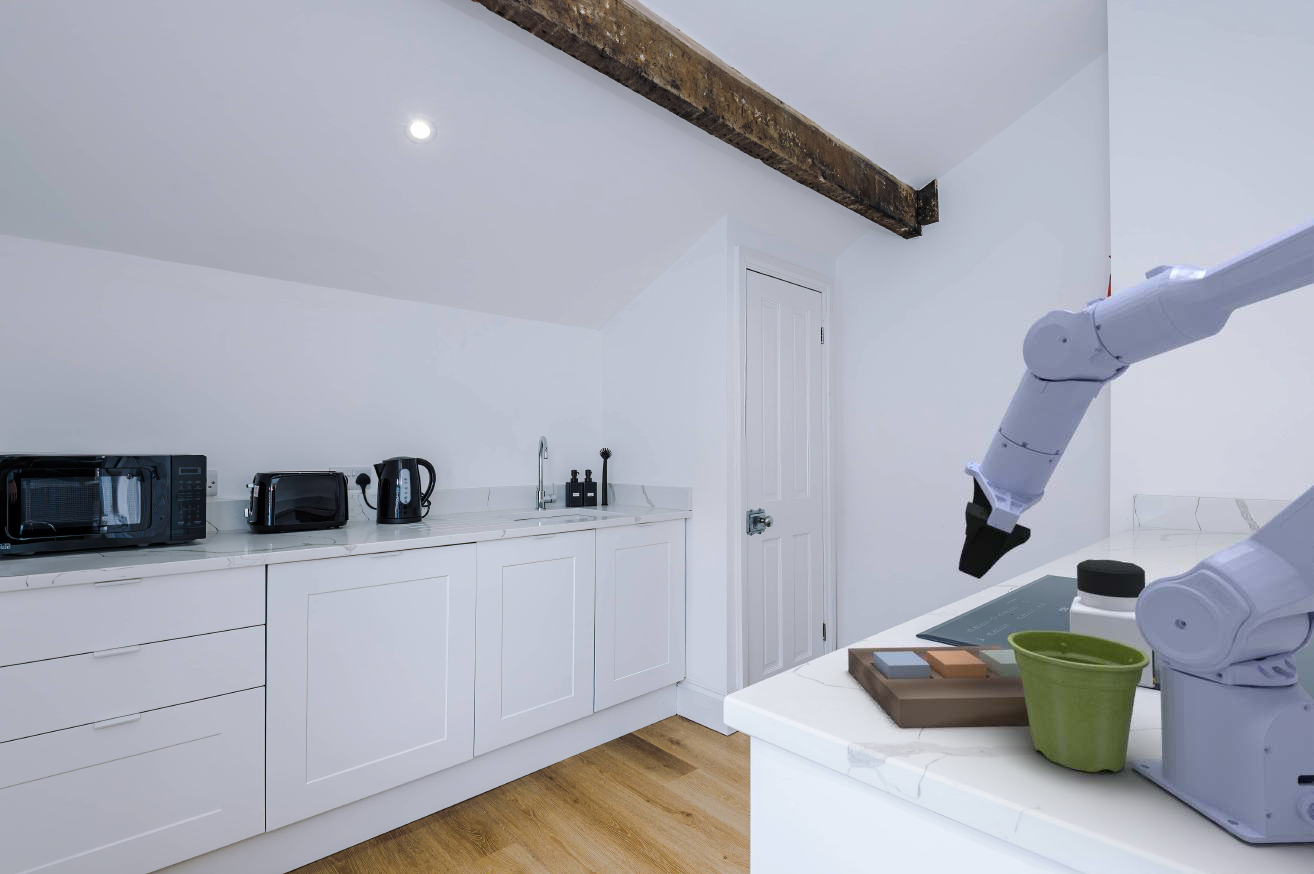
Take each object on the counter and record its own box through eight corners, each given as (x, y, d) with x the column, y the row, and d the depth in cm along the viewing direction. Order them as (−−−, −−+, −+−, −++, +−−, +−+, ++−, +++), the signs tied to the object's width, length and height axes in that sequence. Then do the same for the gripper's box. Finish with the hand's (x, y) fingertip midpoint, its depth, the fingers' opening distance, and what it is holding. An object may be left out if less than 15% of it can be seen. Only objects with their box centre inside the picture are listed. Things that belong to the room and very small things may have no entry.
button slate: (930, 689, 60) (929, 664, 60) (889, 690, 60) (888, 665, 60) (912, 674, 64) (912, 651, 64) (873, 675, 64) (873, 651, 64)
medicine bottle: (1155, 689, 63) (1152, 570, 63) (1070, 674, 67) (1068, 563, 68) (1153, 668, 69) (1150, 559, 69) (1075, 656, 73) (1073, 553, 73)
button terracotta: (986, 688, 60) (986, 663, 60) (945, 689, 60) (945, 664, 60) (965, 673, 64) (964, 650, 64) (926, 674, 64) (926, 650, 64)
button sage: (1043, 687, 60) (1042, 662, 60) (1002, 688, 60) (1001, 663, 60) (1018, 672, 64) (1017, 649, 64) (979, 673, 64) (979, 650, 64)
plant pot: (1020, 719, 56) (1018, 623, 57) (1153, 750, 50) (1151, 642, 51) (998, 759, 49) (996, 649, 49) (1151, 801, 43) (1148, 675, 43)
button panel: (1090, 723, 55) (1089, 695, 55) (900, 727, 55) (899, 698, 55) (1000, 668, 69) (999, 645, 69) (848, 670, 69) (848, 648, 69)
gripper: (989, 402, 65) (940, 508, 72) (980, 450, 54) (922, 572, 60) (1063, 426, 63) (1006, 534, 69) (1070, 482, 51) (1000, 606, 57)
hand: (972, 554), depth 64 cm, fingers open, 7 cm apart
